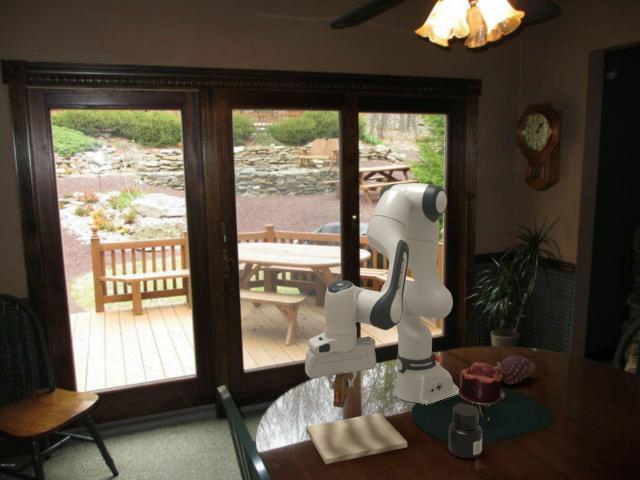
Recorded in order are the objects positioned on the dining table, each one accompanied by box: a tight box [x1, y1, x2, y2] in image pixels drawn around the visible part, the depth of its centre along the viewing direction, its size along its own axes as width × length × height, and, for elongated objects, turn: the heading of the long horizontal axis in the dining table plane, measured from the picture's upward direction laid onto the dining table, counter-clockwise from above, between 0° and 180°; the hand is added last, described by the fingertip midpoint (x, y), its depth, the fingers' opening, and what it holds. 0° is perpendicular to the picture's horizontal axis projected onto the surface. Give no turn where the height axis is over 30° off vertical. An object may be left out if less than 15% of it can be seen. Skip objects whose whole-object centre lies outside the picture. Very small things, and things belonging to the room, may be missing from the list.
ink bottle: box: [447, 403, 483, 459], centre depth 143 cm, size 10×9×12 cm
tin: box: [333, 373, 349, 409], centre depth 147 cm, size 15×3×8 cm, turn 171°
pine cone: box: [491, 355, 536, 385], centre depth 185 cm, size 18×10×10 cm, turn 109°
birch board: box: [305, 412, 408, 465], centre depth 151 cm, size 24×18×2 cm
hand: (341, 387), depth 147 cm, fingers closed on tin, 4 cm apart
